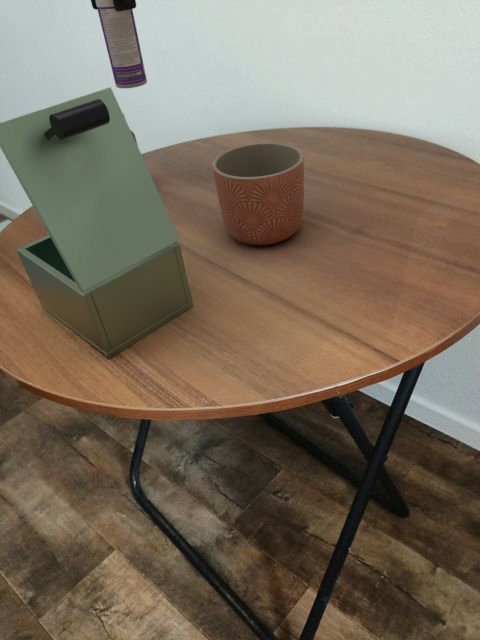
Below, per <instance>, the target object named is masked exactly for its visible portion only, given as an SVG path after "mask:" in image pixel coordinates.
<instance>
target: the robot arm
mask: <svg viewBox="0 0 480 640" xmlns="http://www.w3.org/2000/svg"><path fill="white" fill-rule="evenodd" d="M90 3H91V7H92V9H93V10H97V11H98V9H97V5H96V0H90ZM113 4H114V8H115V10H116V11H119V12H120V11H125V10H129V9H132V10H134V9H136V8H137V2H136V0H113Z"/></svg>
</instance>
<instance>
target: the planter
mask: <svg viewBox="0 0 480 640" xmlns="http://www.w3.org/2000/svg"><path fill="white" fill-rule="evenodd" d="M304 163H305V155H304V153H303V152H302V151H301V149H300V148H298V147H296V146H294V145H291V144H287V143H282V142H271V141H269V142H267V141H266V142H263V141H261V142H253V143H247V144H242V145H238V146H235V147H232V148H230V149H227V150H225V151H223V152H221V153H220V154H218V155H217V156H216V157H215V158H214V160H213V161H212V165H211V167H212V172H213V177H214V182H215V188H216V194H217V198H218V204H219V207H220V213H221V216H222V219H223V223H224V226H225V228H226V230H227V232H228V233H229V235H230V236H231V237H232V238H234V239H235V240H237V241H238V242H240V243H242V244H246V245H251V246H268V245H274V244H278V243H280V242H283V241H285V240H288V239H289V238H290V237H292V236H293V235H294V234H295V233H296V232H297V231H298V230H299V228H300V226H301V224H302V221H303V216H304V207H305V206H304V202H305V201H304V199H305V166H304V165H305V164H304Z"/></svg>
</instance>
